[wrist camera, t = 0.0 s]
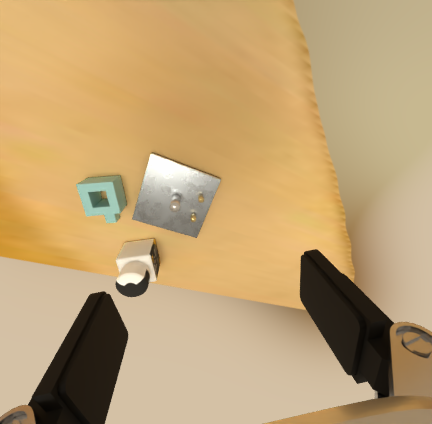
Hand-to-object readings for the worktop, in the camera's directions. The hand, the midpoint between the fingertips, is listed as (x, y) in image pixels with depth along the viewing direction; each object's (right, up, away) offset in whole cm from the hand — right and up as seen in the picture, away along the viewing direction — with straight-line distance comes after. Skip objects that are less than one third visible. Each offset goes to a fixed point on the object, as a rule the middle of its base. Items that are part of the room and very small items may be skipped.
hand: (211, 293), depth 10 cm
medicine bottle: (-18, -6, +41) cm, 45 cm away
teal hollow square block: (-23, +7, +35) cm, 42 cm away
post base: (-9, +7, +37) cm, 38 cm away
